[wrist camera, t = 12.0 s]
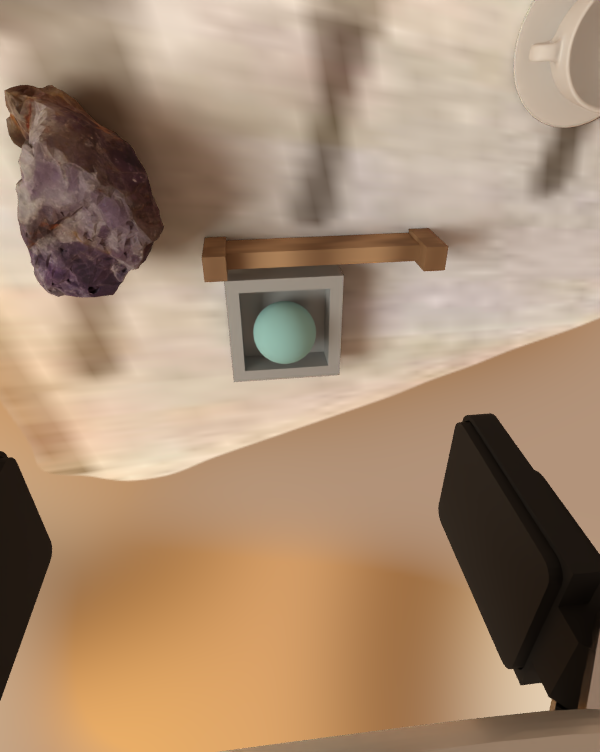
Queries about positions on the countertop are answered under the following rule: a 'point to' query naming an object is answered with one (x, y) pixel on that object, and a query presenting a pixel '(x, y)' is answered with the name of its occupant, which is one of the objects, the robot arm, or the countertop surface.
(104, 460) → the countertop surface
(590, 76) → the teacup
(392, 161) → the countertop surface
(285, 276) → the dish
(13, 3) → the countertop surface
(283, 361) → the ball
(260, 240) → the rail
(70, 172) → the rock
